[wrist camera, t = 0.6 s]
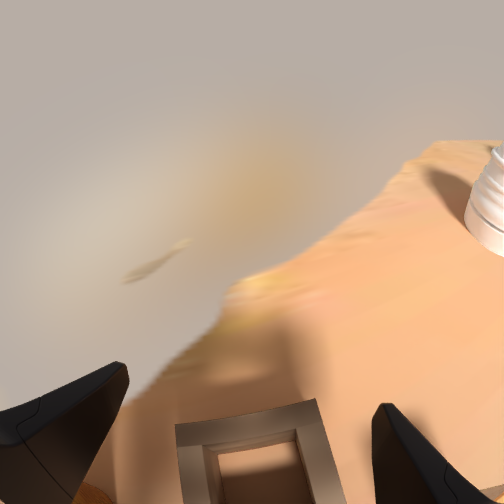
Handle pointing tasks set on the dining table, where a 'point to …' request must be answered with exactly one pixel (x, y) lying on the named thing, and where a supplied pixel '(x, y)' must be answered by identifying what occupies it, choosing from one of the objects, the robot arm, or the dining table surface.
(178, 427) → the socket block
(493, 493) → the steel peg
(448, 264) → the dining table surface
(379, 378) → the dining table surface
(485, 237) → the honey pot
